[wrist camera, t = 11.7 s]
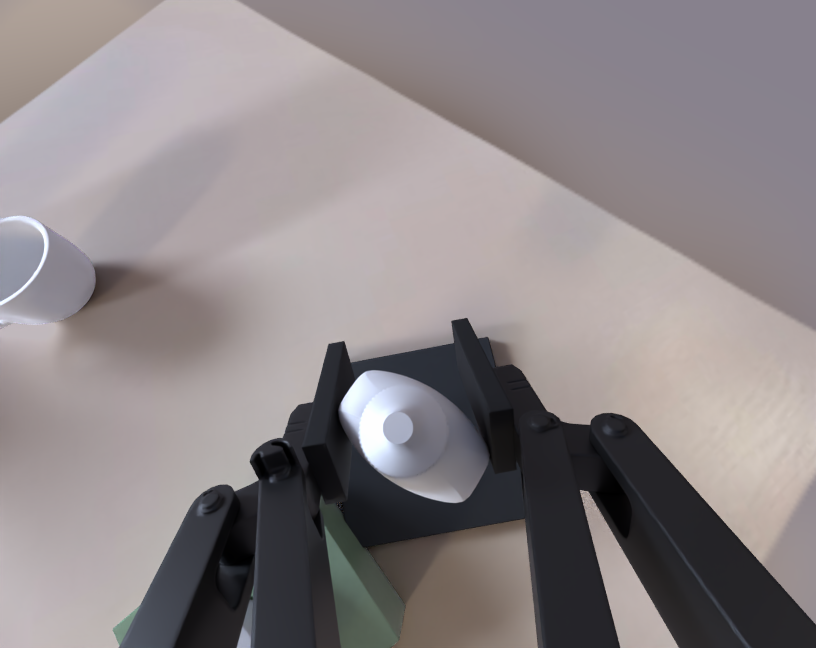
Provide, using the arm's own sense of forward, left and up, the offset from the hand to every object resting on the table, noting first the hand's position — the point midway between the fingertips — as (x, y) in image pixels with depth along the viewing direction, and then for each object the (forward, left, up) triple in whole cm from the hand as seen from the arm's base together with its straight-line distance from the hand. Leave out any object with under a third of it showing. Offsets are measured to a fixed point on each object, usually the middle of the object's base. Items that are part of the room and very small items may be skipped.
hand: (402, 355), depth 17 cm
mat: (-1, +4, -9) cm, 10 cm away
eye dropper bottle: (-1, +4, -4) cm, 5 cm away
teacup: (+30, -7, -9) cm, 33 cm away
